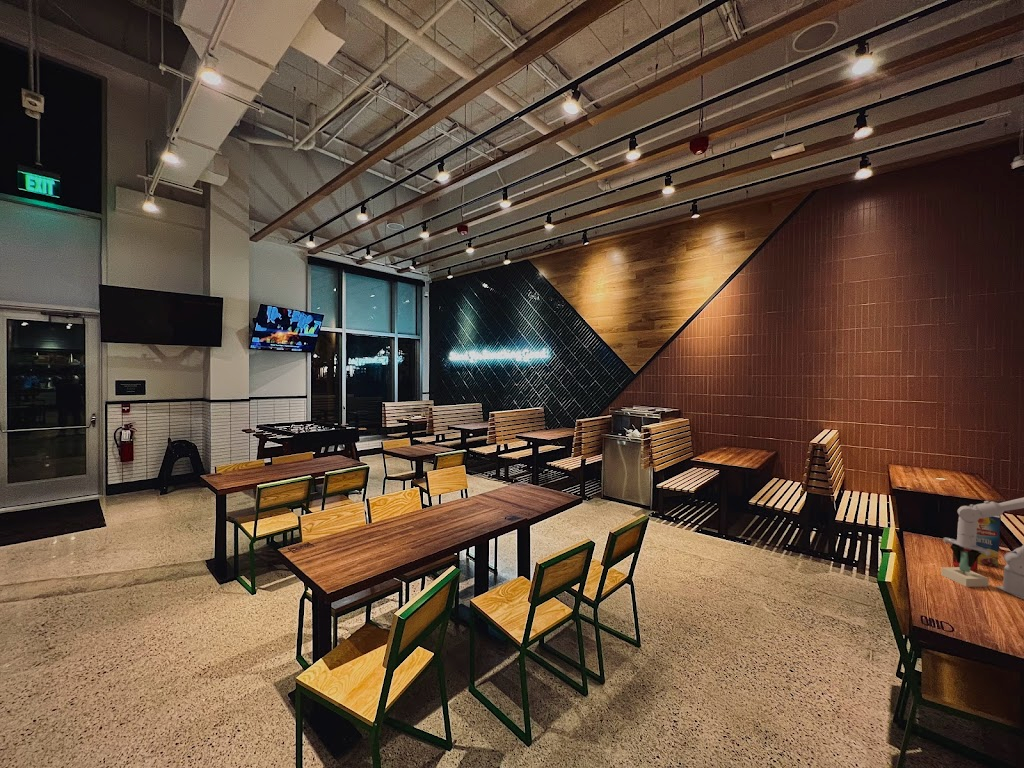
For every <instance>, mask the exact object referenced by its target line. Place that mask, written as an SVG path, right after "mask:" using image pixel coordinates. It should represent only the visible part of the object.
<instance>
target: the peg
mask: <svg viewBox="0 0 1024 768" xmlns="http://www.w3.org/2000/svg"><path fill="white" fill-rule="evenodd" d="M968 562H969V556H968V552H967V551H960V568H959V569H960V570H962V571H965V572H970V567H969V566H968Z"/></svg>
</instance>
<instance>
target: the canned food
mask: <svg viewBox="0 0 1024 768" xmlns="http://www.w3.org/2000/svg"><path fill="white" fill-rule="evenodd" d="M963 551H967V552H968V551H971V550H970V549H966V548H964V549H963ZM952 565H953V567H960V563H957V560H956V557H955V554H954V552H953V551H952ZM978 565H979V564H978V558H977V559H976V561H975V563H974V565H973V567H970V570H971V571H973V572H977V570H978V567H979V566H978Z"/></svg>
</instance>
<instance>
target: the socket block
mask: <svg viewBox="0 0 1024 768" xmlns="http://www.w3.org/2000/svg"><path fill="white" fill-rule="evenodd" d="M959 568H960V567H955V566H953V567H950V566H949V567H943V566H942V567H941V572H940V573H941V576H942V577H945V578H946V579H949V580H951V581H953V582H955V583H957V584H959V585H962V586H963V587H966V588H967V587H968V588H973V587H989V582H990V581H989V580H990V579H989V577H987V576H984V575H982V574H980V573H977V572H976V571H971V570H970V572H965V571H962V570H960V569H959Z"/></svg>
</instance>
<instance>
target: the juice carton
mask: <svg viewBox="0 0 1024 768" xmlns="http://www.w3.org/2000/svg"><path fill="white" fill-rule="evenodd" d="M1001 516H1002V515H998V516H993V517H987V518H980V519H979V520H978V521H977V536H976V545H977V546H980V547H982V548H985V549H987V550H990V551H991V553H990V555H985V554H983V553H981V555H980V556H979V557H978V565H983V566H985V567H986V566H987V567H990V568H995V569H998V568H999V567H998V565H999V553H1000V551H999V550H1000V534H1001V518H1002V517H1001ZM982 517H983V516H982Z"/></svg>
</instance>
